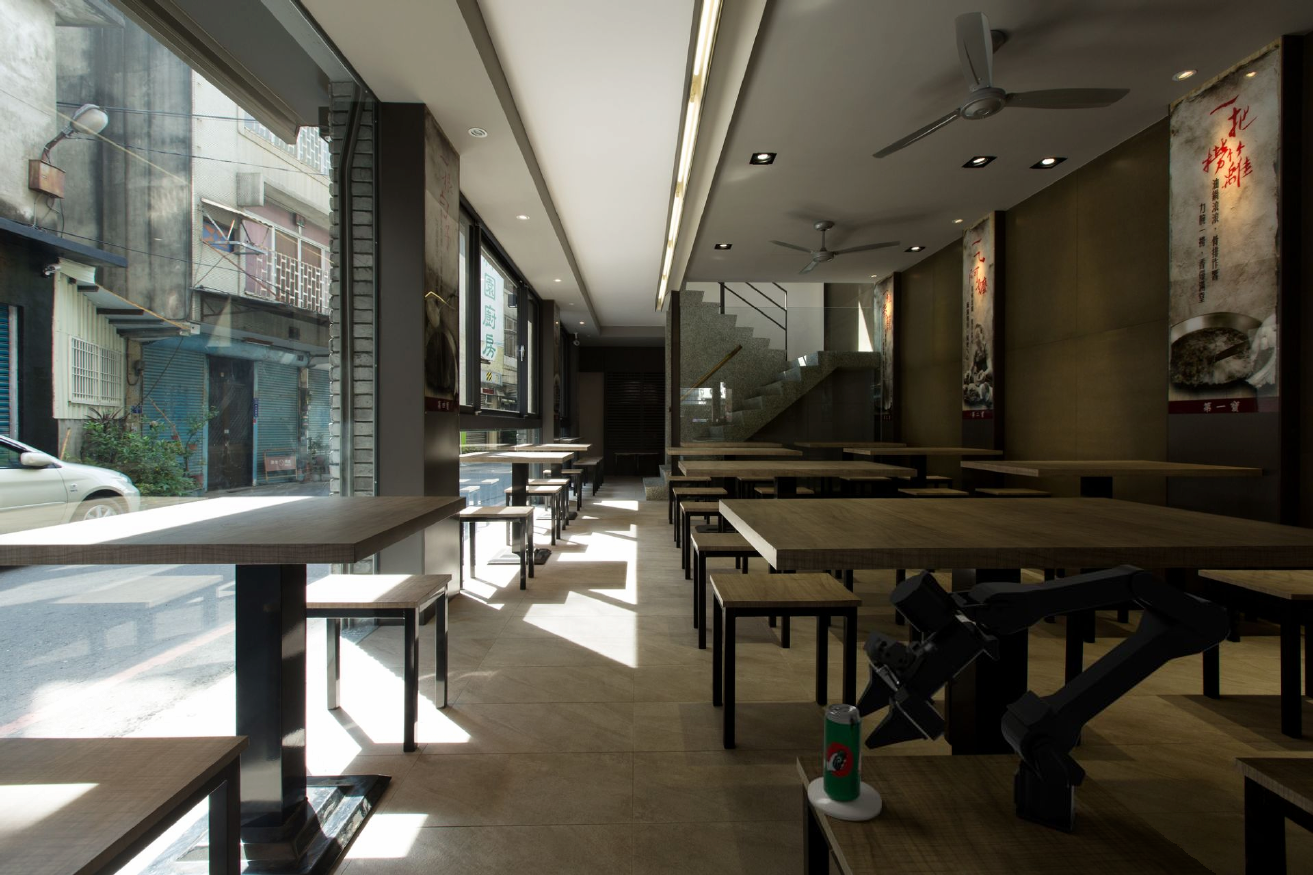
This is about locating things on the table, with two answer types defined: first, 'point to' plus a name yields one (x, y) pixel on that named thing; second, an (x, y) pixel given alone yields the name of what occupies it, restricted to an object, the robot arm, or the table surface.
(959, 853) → the table surface
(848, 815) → the coaster
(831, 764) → the soda can
